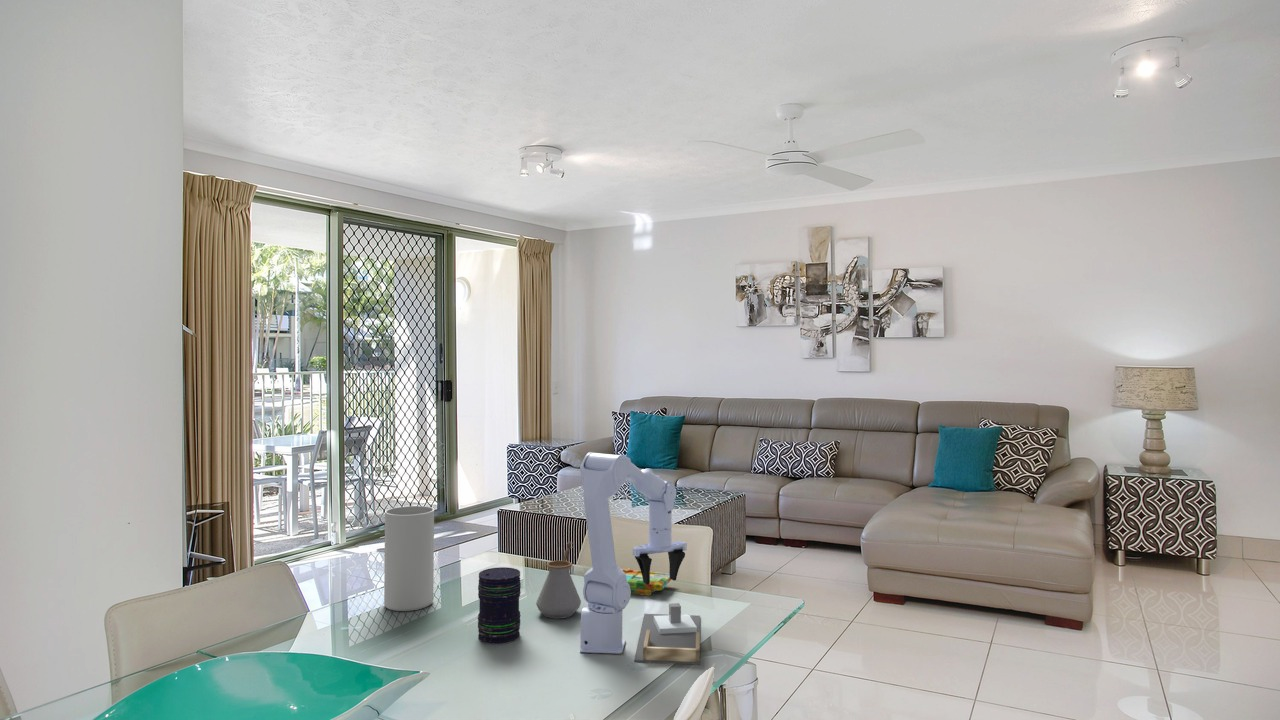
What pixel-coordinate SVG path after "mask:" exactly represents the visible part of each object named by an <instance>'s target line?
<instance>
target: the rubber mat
mask: <svg viewBox="0 0 1280 720" xmlns="http://www.w3.org/2000/svg"><path fill="white" fill-rule="evenodd" d="M663 615H668V614H664V613H663V614H661V613H659V614H658V613H643V617H642V623H641V627H640V632H639V636H638V637H639V638H638V640H637V646H636V650H635V654H634V659H633V662H634V663H649V662H650V663H651V664H652V663H654V664H675V665H676V664H677V665H681V664H682V665H698V666H699V665H701V654H700V655H699V662H684V661H659V660H643V646H644V641H645V636H646V631H647V630H650V644H649V647H671V648H696V632H690V633H668V634H660V633H659V631H658V629H657V627H656V625H655V623H654V616H663ZM689 615H690V617H691V619H692V620H693V622H694V623H695V625H696V627H697V632H700V633H701V616H700V615H696V614H695V615H691V614H689Z"/></svg>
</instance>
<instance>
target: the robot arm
mask: <svg viewBox="0 0 1280 720" xmlns="http://www.w3.org/2000/svg"><path fill="white" fill-rule="evenodd" d="M579 469H580V470H579V471H580V477H581V485H582V490H583V491H582V492H583V493H582V494H583V503H584V511H585V519H586V527H587V534H588V541H589V549H590V559H591V565H592V567H591V568H589V569H587V571H586V572H585V574H584V575H583V580H584V584H583V589H582V592H583V593H582V594H583V599H584V600H585V602H586V603H587V606H583V607H582V609H581V615H580V649H579V652H580V653H589V654H590V653H595V654H596V653H597V654H618V655H620V654H622V653H624V647H625V644H626V638H623V610H624V609H626V607H627V606H628V604H629V603H630V599H631V595H632V594H631V590H630V586H629V584H628V582H627V579H626V574H625V573H624V572H623V571H622V570H621V569H622V568H621V567H620V566H618V565H617V560H616V553H615V551H616V550H615V546H614V545H615V544H614V537H613V535H614V534H613V529H612V528H613V527H612V526H613V525H612V520H611V511H610V503H609V500H610V497H612V496H614V495H616V494H618V492H619V490H620V489H621V487H622V486H623V485H624V483H625V482H626V480H627V481H628V482H632V486H633V488H634V489H635V491H637V492H639V493H640V494H642V495H643V497H644V500H645V501H646V502H648V543H647V544H642V545H638V546H633V547H632V555H633V556H634V558H635V560H636V563H637V564H638V567H639V571H641V573H642V577H643V583H645V584H649V583H650V572H651V565H652V561H653V559H652V558H651V557H650V556H649V555H654V554H661V553H667V554H668V560H669V562H668V563H669V564H668V565H669V573H668V574H670V579H671V580H672V581H674V582H675V581H677V578H678V573H679V569H680V566H681V565H682V563H683V560H685V559H684V558H685V557H686V553H685V551H687V547H688V546H687V542H685V541H684V540H683V541H672V520H673V519H672V517H673V516H672V515H673V514H672V510H674V508H675V500H676V497H677V490H676V486H675V484H674V483H673V482H672V481H670V480H664V479H662V476H660V475H656V474H655V473H654V471H653V469H652V468H647V467H646V468H645V469H644V468H643V469H640V468H639V467H637V465H635V464H634V463H633V462H632V459H631V457H627V456H626V455H625V454H611V453H601V452H594V451H589V452H588V453H586V455H585V456H584V458H583V460H582V462H581V464H580V466H579Z"/></svg>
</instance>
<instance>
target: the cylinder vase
mask: <svg viewBox="0 0 1280 720" xmlns="http://www.w3.org/2000/svg"><path fill="white" fill-rule="evenodd" d="M434 545H435V508H434V507H433V506H432V507H431V506H426V505H425V506H424V505H408V506H407V505H406V506H398V507H392V508H389V509H386V510H385V511H384V571H383V572H384V574H383V575H384V576H383V577H384V578H383V580H384V581H383V582H384V583H383V587H384V589H383V591H384V592H383V593H384V594H383V595H384V597H383V602H384V603H383V605H384V606H385V608H386V609H387V610H390V611H395V612H411V611H418V610H422V609H425V608H428V607H429V606H430V605H432V604H433V602H434V583H435V582H434V580H435V579H434V576H435V575H434V573H435V571H434V570H435V569H434V568H435V567H434V566H435V564H434V563H435V558H434V555H435V554H434V553H435V546H434Z"/></svg>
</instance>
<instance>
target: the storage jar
mask: <svg viewBox="0 0 1280 720" xmlns="http://www.w3.org/2000/svg"><path fill="white" fill-rule="evenodd" d="M521 584H522V583H521V571H520V570H519V569H518V568H515V567H504V566H503V567H493V568H492V567H491V568H490V567H489V568H486V569H484V570H481V571H480V572H479V573H478V584H477V585H478V586H477V590H478V593H477V597H478V599H479V613H478V615H477V629H478V636H477V638H478V641H479V642H482V643H484V644H488V645H503V644H509V643H513V642H515V641H517V640H518V639H519V638H520V637H521V636H520V635H521V632H520V629H521V611H520V597H521V593H522V591H521V586H522V585H521Z"/></svg>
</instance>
